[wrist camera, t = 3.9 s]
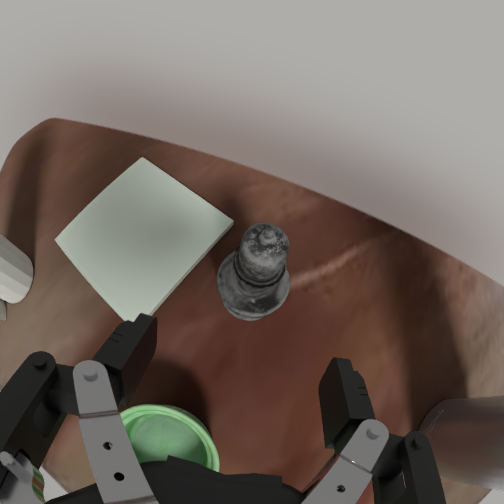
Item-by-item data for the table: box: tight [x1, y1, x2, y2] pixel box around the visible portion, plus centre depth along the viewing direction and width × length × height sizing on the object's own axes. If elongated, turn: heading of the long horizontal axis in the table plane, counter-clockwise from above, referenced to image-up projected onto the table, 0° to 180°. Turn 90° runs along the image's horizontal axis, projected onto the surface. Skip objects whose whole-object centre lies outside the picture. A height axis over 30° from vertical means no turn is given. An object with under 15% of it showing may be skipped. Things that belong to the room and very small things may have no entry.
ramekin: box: [120, 404, 220, 472], centre depth 17 cm, size 9×9×4 cm
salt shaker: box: [217, 223, 290, 321], centre depth 20 cm, size 6×6×12 cm
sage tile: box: [55, 157, 234, 322], centre depth 26 cm, size 14×14×1 cm
